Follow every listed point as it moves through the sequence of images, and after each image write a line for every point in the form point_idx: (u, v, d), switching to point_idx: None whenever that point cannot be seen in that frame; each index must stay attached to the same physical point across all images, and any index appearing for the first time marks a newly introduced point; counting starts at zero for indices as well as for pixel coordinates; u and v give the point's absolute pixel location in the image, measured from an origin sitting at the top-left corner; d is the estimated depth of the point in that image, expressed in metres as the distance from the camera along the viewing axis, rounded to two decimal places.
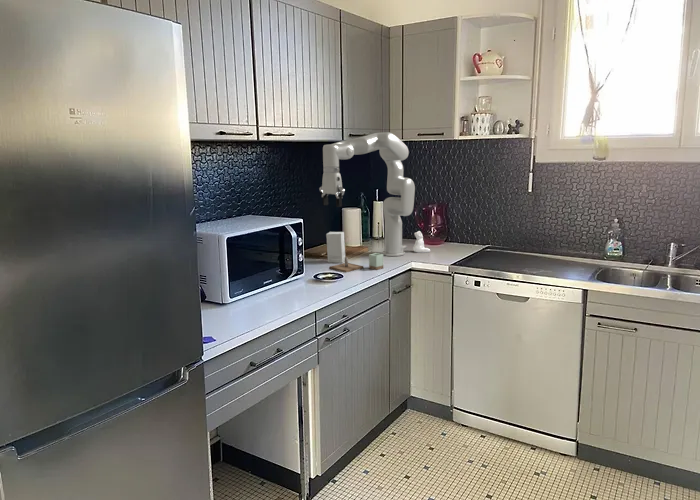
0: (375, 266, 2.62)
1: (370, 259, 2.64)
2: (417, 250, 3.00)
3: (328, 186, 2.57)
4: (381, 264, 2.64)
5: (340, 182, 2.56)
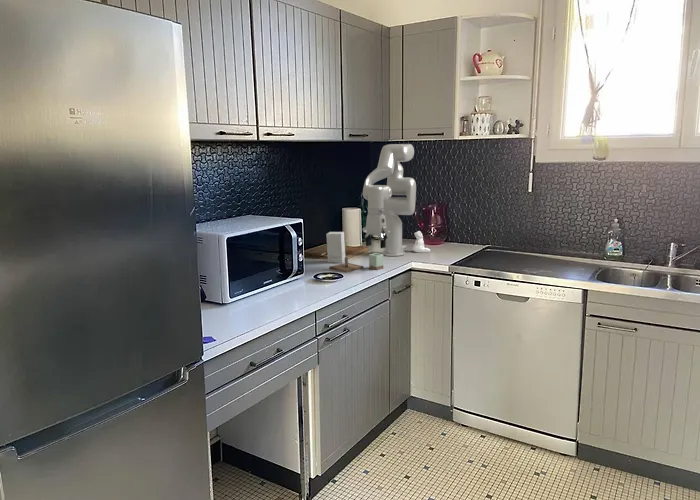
0: (375, 266, 2.62)
1: (370, 259, 2.64)
2: (417, 250, 3.00)
3: (372, 227, 2.59)
4: (381, 264, 2.64)
5: (385, 224, 2.58)
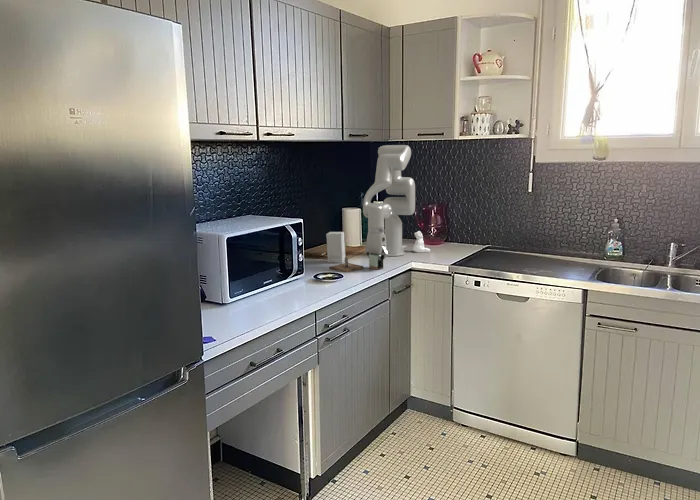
0: (375, 266, 2.62)
1: (370, 259, 2.64)
2: (417, 250, 3.00)
3: (373, 246, 2.61)
4: None
5: (385, 242, 2.60)
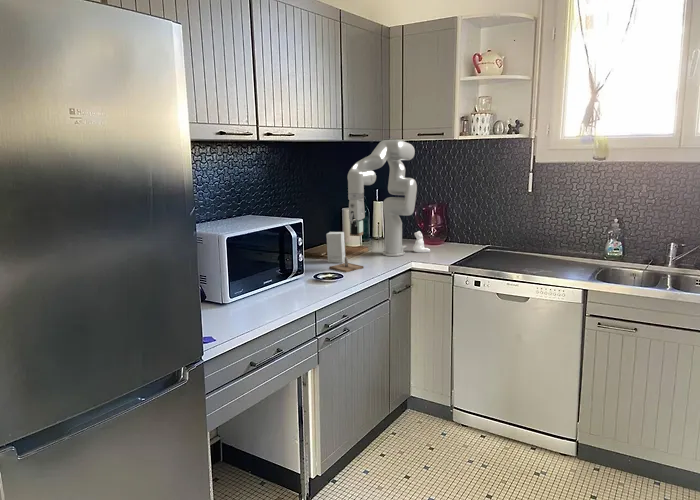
0: None
1: None
2: (417, 250, 3.00)
3: None
4: None
5: (354, 209, 2.55)
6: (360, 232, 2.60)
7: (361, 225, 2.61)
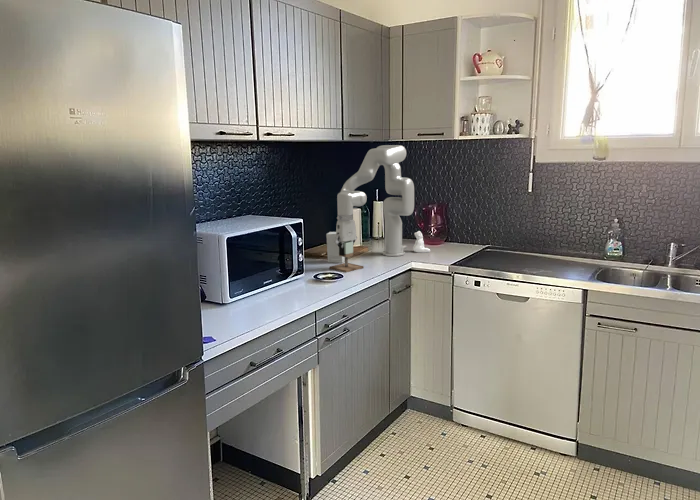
0: None
1: None
2: (417, 250, 3.00)
3: None
4: None
5: (340, 230, 2.58)
6: (348, 253, 2.62)
7: (350, 246, 2.63)
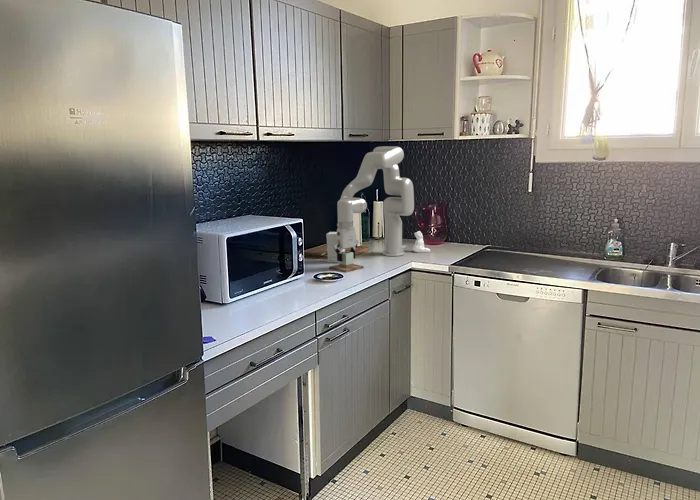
0: None
1: None
2: (417, 250, 3.00)
3: None
4: (344, 263, 2.63)
5: (340, 237, 2.59)
6: (348, 264, 2.64)
7: (350, 257, 2.64)
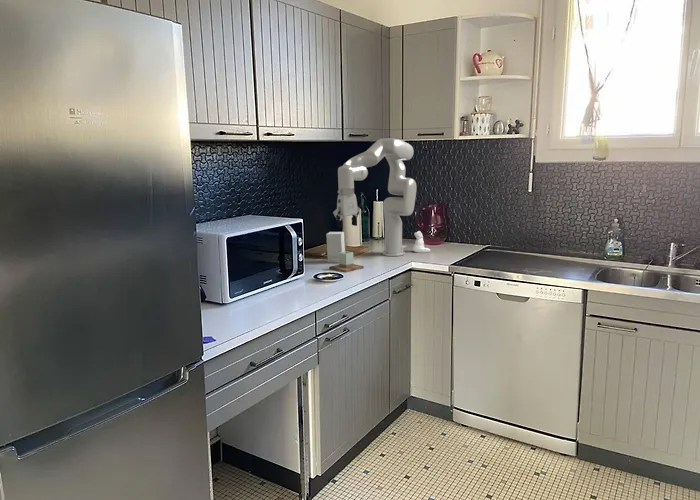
0: None
1: None
2: (417, 250, 3.00)
3: None
4: (344, 263, 2.63)
5: (341, 204, 2.57)
6: (348, 264, 2.64)
7: (350, 257, 2.64)
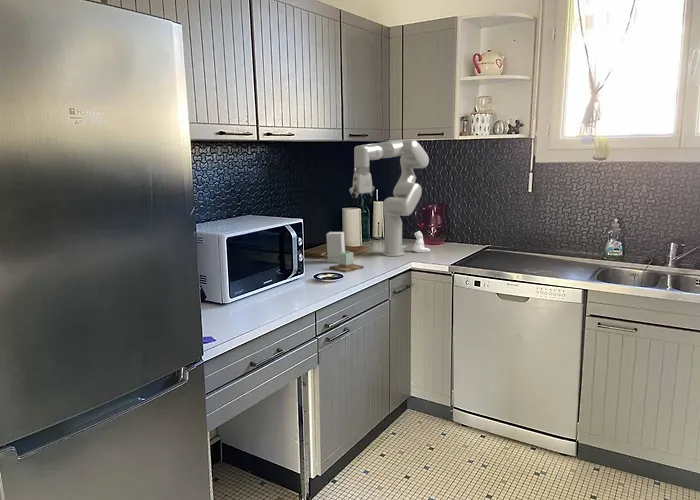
0: None
1: None
2: (417, 250, 3.00)
3: None
4: (344, 263, 2.63)
5: (357, 182, 2.66)
6: (348, 264, 2.64)
7: (350, 257, 2.64)
